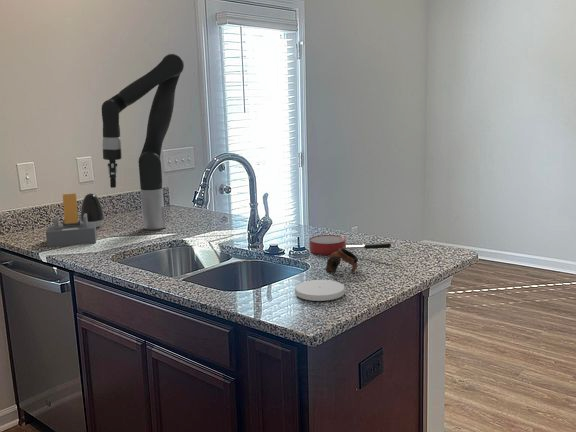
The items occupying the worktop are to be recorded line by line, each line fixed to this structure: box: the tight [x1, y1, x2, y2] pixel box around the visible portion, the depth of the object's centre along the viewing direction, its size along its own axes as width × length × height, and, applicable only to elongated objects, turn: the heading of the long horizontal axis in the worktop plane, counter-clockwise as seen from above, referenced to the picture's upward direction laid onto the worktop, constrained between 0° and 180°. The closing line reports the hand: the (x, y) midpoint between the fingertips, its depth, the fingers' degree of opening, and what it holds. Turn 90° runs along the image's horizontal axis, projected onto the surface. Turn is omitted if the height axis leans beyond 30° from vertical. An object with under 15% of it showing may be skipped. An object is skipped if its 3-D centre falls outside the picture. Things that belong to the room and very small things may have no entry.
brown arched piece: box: [325, 248, 359, 273], centre depth 193 cm, size 12×10×8 cm
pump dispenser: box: [80, 193, 105, 229], centre depth 269 cm, size 10×10×15 cm
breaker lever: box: [62, 193, 81, 226], centre depth 246 cm, size 6×2×13 cm, turn 105°
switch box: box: [45, 213, 98, 248], centre depth 244 cm, size 18×13×10 cm
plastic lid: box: [294, 279, 346, 302], centre depth 172 cm, size 14×14×2 cm
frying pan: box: [308, 234, 392, 256], centre depth 213 cm, size 32×13×6 cm, turn 56°
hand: (113, 186), depth 259 cm, fingers open, 8 cm apart
